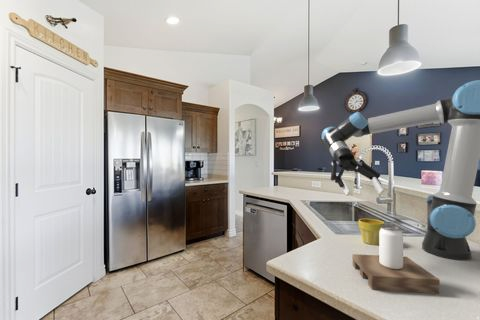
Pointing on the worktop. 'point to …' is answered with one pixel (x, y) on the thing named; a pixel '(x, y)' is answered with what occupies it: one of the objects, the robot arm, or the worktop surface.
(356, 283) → the worktop surface
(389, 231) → the can
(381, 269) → the platform
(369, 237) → the plant pot
